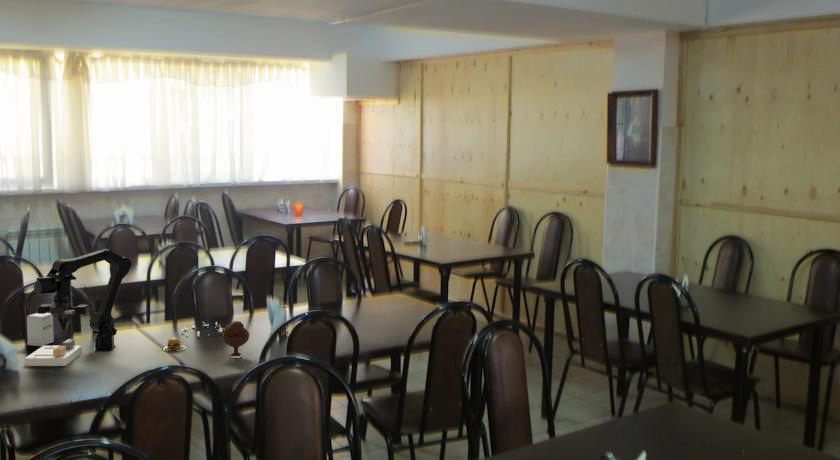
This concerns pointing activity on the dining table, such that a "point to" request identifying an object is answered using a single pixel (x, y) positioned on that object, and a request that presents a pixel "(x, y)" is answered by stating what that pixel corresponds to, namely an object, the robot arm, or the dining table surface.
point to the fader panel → (47, 359)
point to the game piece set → (198, 331)
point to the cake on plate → (174, 344)
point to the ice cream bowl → (235, 336)
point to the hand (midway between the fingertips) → (64, 330)
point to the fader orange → (59, 351)
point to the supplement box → (40, 329)
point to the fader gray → (69, 343)
